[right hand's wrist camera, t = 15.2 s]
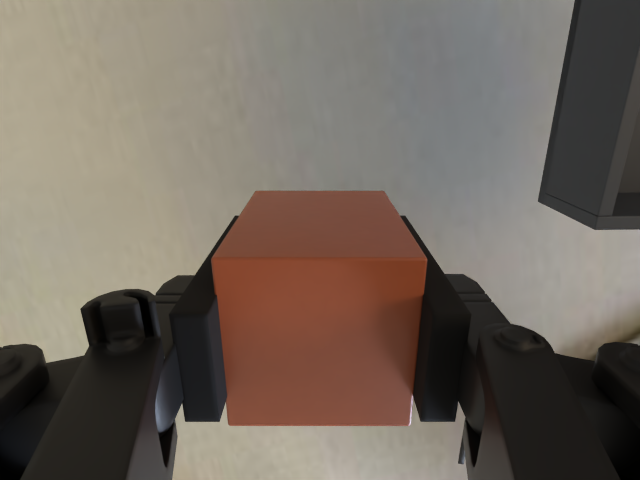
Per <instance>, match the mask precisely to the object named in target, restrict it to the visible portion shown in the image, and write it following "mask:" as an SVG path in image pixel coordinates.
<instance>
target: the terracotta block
mask: <svg viewBox="0 0 640 480" xmlns="http://www.w3.org/2000/svg"><path fill="white" fill-rule="evenodd" d="M211 263H212V273H213V282H214V292H215V295H217V300H218V310H219V320H220V329H221V339H222V349H223V359H224V369H225V379H226V389H227V399H226V408H227V418H228V424H229V425H230V426H409V425H410V424H411V415H412V405H413V390H414V381H415V371H416V361H417V351H418V341H419V331H420V322H421V312H422V302H423V295H424V288H425V278H426V268H427V258H426V256H425V254H424V253H423V251H422V250H421V248H420V247H419V245H418V243H417V242H416V240H415V239H414V237H413V236H412V234H411V233H410V231H409V229H408V228H407V226H406V225H405V223H404V222H403V220H402V218H401V217H400V215H399V214H398V212H397V211H396V209H395V207H394V206H393V204H392V203H391V201H390V200H389V198H388V196H387V195H386V193H385V192H384V191H255V193H254V194H253V196H252V197H251V199H250V200H249V202H248V203H247V205H246V206H245V208H244V209H243V211H242V212H241V214H240V215H239V217H238V219H237V220H236V222H235V223H234V225H233V226H232V228H231V229H230V231H229V232H228V234H227V235H226V237H225V238H224V240H223V241H222V243H221V244H220V246H219V248H218V249H217V251H216V252H215V254H214V255H213V257H212V259H211Z"/></svg>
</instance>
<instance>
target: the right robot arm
mask: <svg viewBox="0 0 640 480" xmlns="http://www.w3.org/2000/svg"><path fill="white" fill-rule="evenodd" d="M238 217H239V216H235V217H234V218H233V220H232V221H231V223H230V224H229V226H228V227H227V228H226V230H225V231H224V233H223V234H222V236H221V237H220V239H219V240H218V242H217V243H216V245H215V246H214V248H213V249H212V251H211V252H210V254H209V255H208V257H207V258H206V260H205V261H204V263H203V264H202V266H201V267H200V269H199V270H198V272H197V273H196V275H178V276H176V277H174V278H172V279H171V280H169V281H167V282H166V283H164V284H163V285H162V286H161V288H160V289H159V290H158V291H157V293H156V295H153V294H152V293H150V292H149V291H145V290H140V289H125V290H119V291H113V292H110V293H107V294H104V295H101V296H98V297H96V298H94V299H92V300H91V301H89V302H87V303H86V304H85V305H84V306H83V307H82V308H81V313H82V318H83V322H84V326H85V330H86V334H87V338H88V342H89V348H88V350H87V352H86V353H85V355H84V356H80V357H76V358H70V359H65V360H60V361H55V362H49V363H46V361H45V358H44V354H43V351H42V350H41V349H40V348H39V347H38V346H36V345H29V344H19V345H8V346H3V348H1V347H0V480H172V475H173V467H174V460H175V452H176V444H177V430H176V424H175V418H176V415H177V413H178V411H179V408H180V406H181V404H183V410H184V417H185V422H220V418H221V415H222V412H223V409H224V405H225V402H226V399H227V389H226V379H225V369H224V359H223V349H222V339H221V329H220V320H219V310H218V300H217V295H215V292H214V282H213V273H212V263H211V259H212V257H213V255H214V254H215V252H216V251H217V249H218V248H219V246H220V244H221V243H222V241H223V240H224V238H225V237H226V235H227V234H228V232H229V231H230V229H231V228H232V226H233V225H234V223H235V222H236V220H237V219H238ZM400 217H401V218H402V220H403V222H404V223H405V225H406V226H407V228H408V229H409V231H410V233H411V234H412V236H413V237H414V239H415V240H416V242H417V243H418V245H419V247H420V248H421V250H422V251H423V253H424V254H425V256H426V258H427V268H426V278H425V288H424V295H423V302H422V312H421V322H420V331H419V341H418V351H417V361H416V371H415V381H414V390H413V398H414V401H415V404H416V408H417V411H418V414H419V417H420V421H421V422H455V419H456V412H457V406H458V401H459V403H460V406H461V408H462V410H463V412H464V415H465V417H466V418H465V424H464V430H463V436H462V442H461V448H460V454H459V461H458V463H459V464H464V459H466V466H467V474H468V480H640V346H638V345H637V344H632V343H620V342H613V343H606V344H604V345H602V346H601V347H600V348H599V349H598V352H597V356H596V359H595V361H590V360H585V359H580V358H574V357H569V356H564V355H560V354H556V353H554V351H553V349H552V347H551V345H550V344H549V343H548V342H547V341H546V339H545V338H544V337H542V336H541V335H539V334H537V333H536V332H534V331H532V330H530V329H527V328H525V327H522V326H518V325H513V324H510V322H509V321H508V320H507V319H506V318H505V316H504V315H503V314H502V313H501V311H500V310H499V309H498V308H497V306H496V305H495V304H494V303H493V302H491V299H490V298H489V297H488V295H487V294H485V292H484V290H483V289H482V288H481V287H480V286H479V284H478V283H477V282H475V281H474V280H472V279H470V278H469V277H467V276H465V275H464V274H444V273H443V271H442V270H441V268H440V267H439V265H438V264H437V262H436V261H435V259H434V258H433V256H432V255H431V253H430V252H429V250H428V249H427V247H426V246H425V244H424V243H423V241H422V240H421V238H420V237H419V235H418V234H417V232H416V231H415V229H414V228H413V226H412V225H411V224H410V222H409V221H408V219H407V218H406V216H400Z"/></svg>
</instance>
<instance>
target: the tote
mask: <svg viewBox="0 0 640 480" xmlns="http://www.w3.org/2000/svg"><path fill="white" fill-rule="evenodd" d="M538 202H540V203H542V204H544V205H546V206H548V207H550V208H552V209H554V210H556V211H558V212H560V213H562V214H564V215H566V216H568V217H570V218H572V219H574V220H576V221H578V222H580V223H582V224H584V225H586V226H588V227H590V228H592V229H594V230H621V229H640V0H575V3H574V9H573V14H572V19H571V25H570V30H569V36H568V41H567V46H566V52H565V57H564V63H563V68H562V74H561V79H560V84H559V90H558V95H557V101H556V106H555V111H554V117H553V122H552V128H551V133H550V138H549V144H548V149H547V155H546V160H545V166H544V171H543V176H542V182H541V187H540V193H539V198H538Z"/></svg>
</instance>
